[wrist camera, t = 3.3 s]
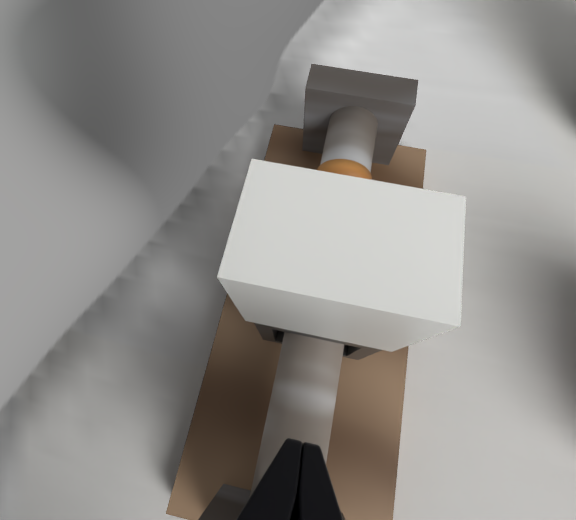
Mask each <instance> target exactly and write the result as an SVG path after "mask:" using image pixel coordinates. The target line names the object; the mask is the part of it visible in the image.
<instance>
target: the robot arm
mask: <svg viewBox="0 0 576 520" xmlns="http://www.w3.org/2000/svg"><path fill="white" fill-rule="evenodd" d="M236 520H343V517H342V514H341V511H340V508H339V505H338V501H337V498H336V495H335V492H334V489H333V485H332V482H331V479H330V476H329V473H328V469H327V466H326V463H325V460H324V457H323V453H322V450H321V448H320V446H319V445H317V444H313V443H308V442H304V443H302V442H301V441H300V440H295V439H291V438H287V439H286V440H285V441H284V443H283V445H282V446H281V448H280V449H279V451H278V453H277V454H276V456H275V457H274V459H273V461H272V462H271V464H270V466H269V467H268V469H267V470H266V472H265V474H264V475H263V477H262V479H261V480H260V482H259V483H258V485H257V487H256V488H255V490H254V491H253V493H252V495H251V496H250V498H249V500H248V501H247V503H246V504H245V506H244V508H243V509H242V511H241V513H240V514H239V516H238V517H237V519H236Z"/></svg>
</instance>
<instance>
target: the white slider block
mask: <svg viewBox="0 0 576 520" xmlns="http://www.w3.org/2000/svg"><path fill="white" fill-rule="evenodd" d="M465 211H466V196H461V195H455V194H450V193H444V192H438V191H433V190H427V189H421V188H415V187H410V186H404V185H398V184H393V183H387V182H381V181H376V180H370V179H364V178H359V177H353V176H347V175H342V174H336V173H330V172H325V171H319V170H313V169H308V168H302V167H296V166H290V165H285V164H279V163H273V162H268V161H262V160H256V159H251V163H250V166H249V169H248V173H247V176H246V180H245V183H244V186H243V190H242V193H241V197H240V200H239V203H238V207H237V210H236V214H235V217H234V220H233V224H232V227H231V231H230V234H229V238H228V241H227V244H226V248H225V251H224V255H223V258H222V261H221V265H220V268H219V272H218V275H217V278H218V280H219V281H220V283H221V284H222V286H223V287H224V289H225V290H226V292H227V293H228V295H229V297H230V298H231V300H232V301H233V303H234V304H235V306H236V307H237V309H238V310H239V312H240V314H241V315H242V317H243V318H244V320H245V321H248V322H253V323H254V324H255V326H256V328H257V330H258V331H259V333H260V335H261V337H262V339H263V340H267V341H271V342H276V343H281V344H282V342H283V337H284V332H288V333H292V334H297V335H302V336H307V337H311V338H316V339H321V340H325V341H330V342H335V343H340V344H344V350H343V356H342V357H346V358H350V359H355V360H360V359H362V358H365V357H367V356H369V355H372V354H374V353H376V352H379V351H381V350H385V351H390V352H393V351H395V350H398V349H401V348H403V347H406V346H409V345H412V344H414V343H417V342H420V341H423V340H425V339H428V338H431V337H434V336H436V335H439V334H442V333H445V332H447V331H450V330H453V329H456V328H458V327H461V307H462V283H463V259H464V235H465Z"/></svg>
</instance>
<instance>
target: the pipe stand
mask: <svg viewBox="0 0 576 520" xmlns="http://www.w3.org/2000/svg"><path fill="white" fill-rule="evenodd" d="M417 86H418V80H414V79H407V78H401V77H394V76H388V75H381V74H374V73H368V72H361V71H355V70H348V69H342V68H335V67H329V66H322V65H316V64H312V65H311V68H310V72H309V76H308V80H307V84H306V91H305V109H304V128H303V129H299V128H293V127H287V126H281V125H275V124H274V127H273V131H272V134H271V138H270V141H269V145H268V149H267V152H266V156H265V159H264V161H268V162H273V163H279V164H285V165H290V166H296V167H302V168H308V169H313V170H319V171H325V172H330V173H336V174H342V175H347V176H353V177H359V178H364V179H370V180H376V181H381V182H387V183H393V184H398V185H404V186H410V187H415V188H421V189H423V180H424V169H425V158H426V150H424V149H418V148H412V147H406V146H400V145H398V143H399V141H400V139H401V137H402V134H403V132H404V130H405V128H406V125H407V123H408V121H409V119H410V116H411V114H412V112H413V110H414V107H415V105H416V95H417ZM343 350H344V344H340V343H335V342H330V341H325V340H321V339H316V338H311V337H307V336H302V335H297V334H292V333H288V332H284V337H283V342H282V344H281V343H276V342H271V341H267V340H263V339H262V337H261V335H260V333H259V331H258V330H257V328H256V326H255V324H254V323H253V322H248V321H245V320H244V318H243V317H242V315H241V314H240V312H239V310H238V309H237V307H236V306H235V304H234V303H233V301H232V300H231V298H230V297H229V295H228V293H227V296H226V299H225V303H224V307H223V310H222V314H221V317H220V321H219V324H218V328H217V332H216V335H215V339H214V342H213V346H212V350H211V353H210V357H209V360H208V364H207V368H206V371H205V375H204V378H203V382H202V386H201V389H200V393H199V396H198V400H197V403H196V407H195V411H194V414H193V418H192V421H191V425H190V429H189V432H188V436H187V439H186V443H185V447H184V450H183V454H182V457H181V461H180V465H179V468H178V472H177V475H176V479H175V482H174V486H173V490H172V493H171V497H170V500H169V504H168V508H167V511H166V514H169V515H173V516H177V517H181V518H184V519H188V520H236V519H237V517H238V516H239V514H240V513H241V511H242V509H243V508H244V506H245V504H246V503H247V501H248V500H249V498H250V496H251V495H252V493H253V491H254V490H255V488H256V487H257V485H258V483H259V482H260V480H261V479H262V477H263V475H264V474H265V472H266V470H267V469H268V467H269V466H270V464H271V462H272V461H273V459H274V457H275V456H276V454H277V453H278V451H279V449H280V448H281V446H282V445H283V443H284V441H285V440H286V439H287V438H291V439H295V440H300V441H301V442H302V443H304V442H308V443H313V444H317V445H319V446H320V448H321V450H322V453H323V457H324V460H325V463H326V466H327V469H328V473H329V476H330V479H331V482H332V485H333V489H334V492H335V495H336V498H337V501H338V505H339V508H340V511H341V514H342V517H343V520H393V510H394V499H395V488H396V477H397V466H398V455H399V444H400V433H401V422H402V411H403V400H404V389H405V378H406V367H407V356H408V346H406V347H403V348H401V349H398V350H395V351H393V352H390V351H385V350H381V351H379V352H376V353H374V354H372V355H369V356H367V357H365V358H362V359H360V360H355V359H350V358H346V357H342V356H343Z"/></svg>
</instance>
